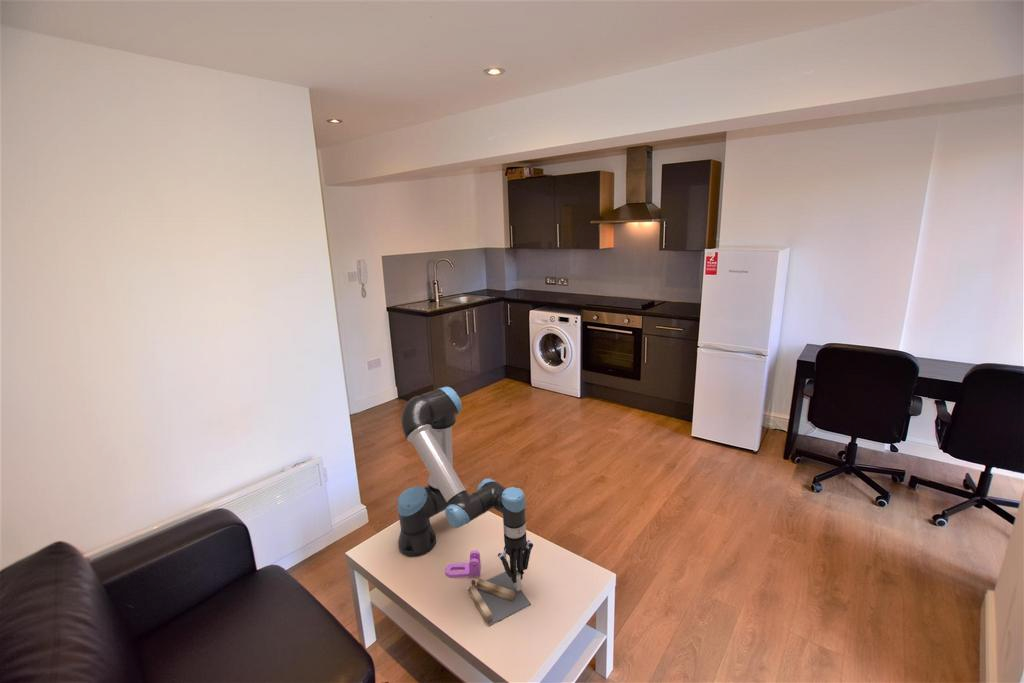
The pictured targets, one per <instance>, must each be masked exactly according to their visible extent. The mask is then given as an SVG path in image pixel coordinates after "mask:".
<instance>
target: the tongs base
mask: <svg viewBox="0 0 1024 683" xmlns="http://www.w3.org/2000/svg"><path fill="white" fill-rule="evenodd" d="M476 585H477V581H476V580H475V579H472V580H471V585H470V586H468V589H469V591H468V592H469V594H470V596H471V599H472V600H473V602H474V603H475V605H476V607H477V608H478V611H479V612H480V613H481V615H482V617H483V619H484V621H485V622H486V623H488V622H490V621H492V613H491V612H490V610H489V608H488V607H487V605H486V604H485V602H484V600H483V599H482V597H481V595H480V594H479V592H478V590H477V589H476Z"/></svg>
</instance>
